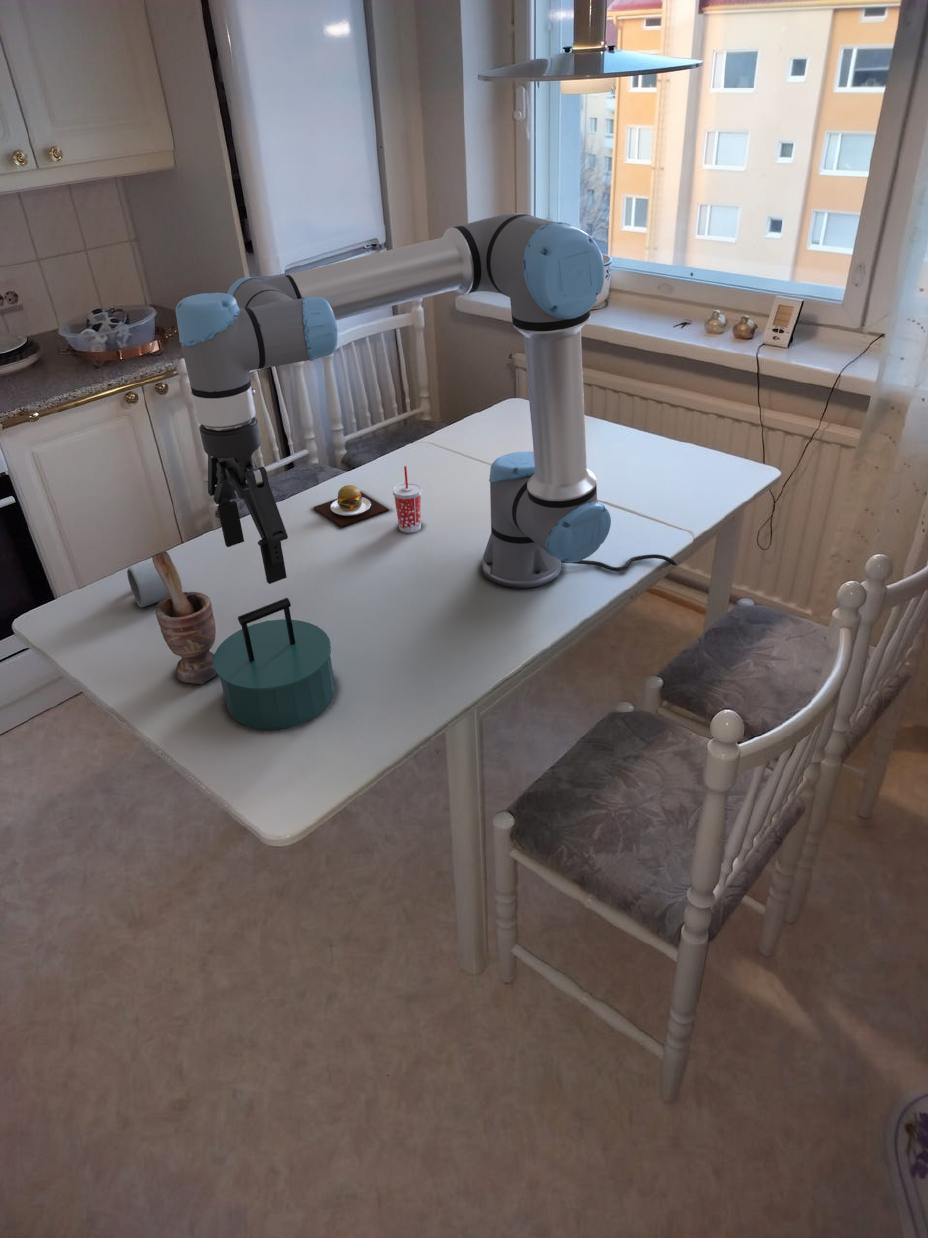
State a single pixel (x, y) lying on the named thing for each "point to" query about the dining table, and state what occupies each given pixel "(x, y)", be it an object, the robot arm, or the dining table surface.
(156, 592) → the ceramic mug
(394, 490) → the beverage cup
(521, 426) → the dining table surface
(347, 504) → the hamburger
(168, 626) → the mortar and pestle
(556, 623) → the dining table surface
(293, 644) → the lid
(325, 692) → the pot
